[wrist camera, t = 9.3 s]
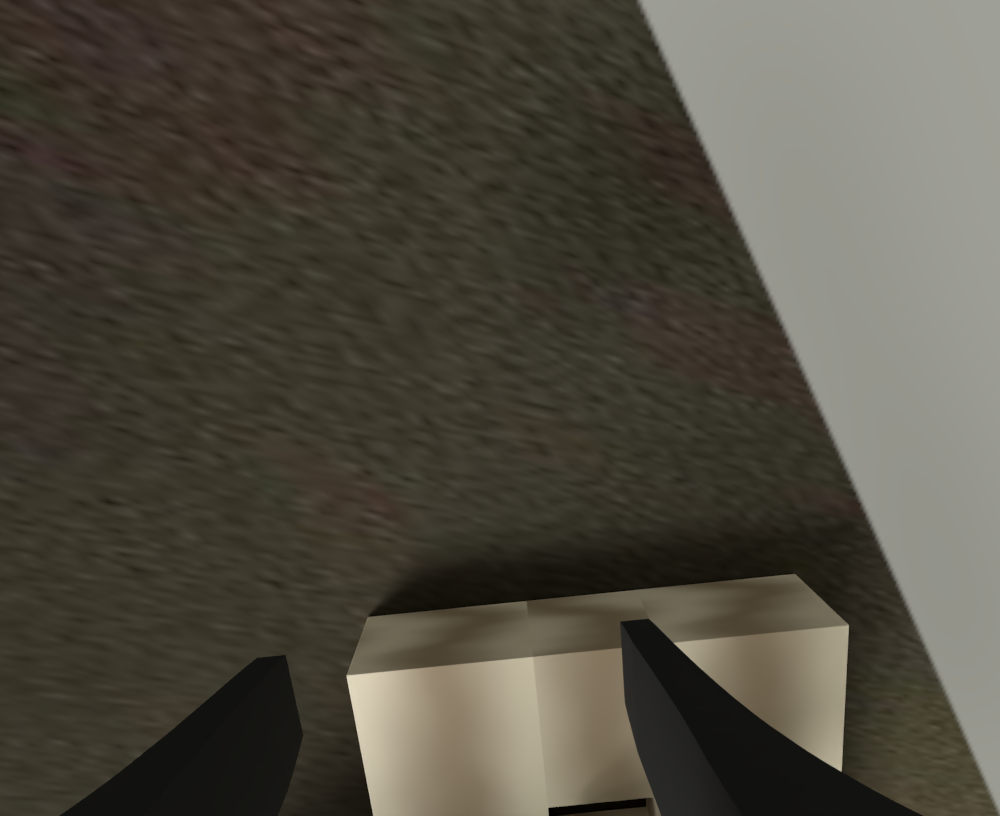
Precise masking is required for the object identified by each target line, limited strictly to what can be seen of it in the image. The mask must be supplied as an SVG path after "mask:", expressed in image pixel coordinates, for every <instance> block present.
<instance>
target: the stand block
mask: <svg viewBox="0 0 1000 816" xmlns="http://www.w3.org/2000/svg"><path fill="white" fill-rule="evenodd" d="M640 619H650V620H651V621H652V622H653V623H654V624H655V625H656V626H657V627H658V628H659V629H660V630H661V631H662V632H663V633H664V634H665V635H666V636H667V637H668V638H669V639H670V640H671V641H672V642H673V643H674V644H675V645H676V646H677V647H678V648H679V649H680V650H682V651H683V652H684V653H685V654H686V655H687V656H688V657H689V658H690V659H691V660H692V661H693V662H694V663H695V664H696V665H697V666H698V667H700V668H701V669H702V670H703V671H704V672H705V673H706V674H707V675H709V676H710V677H711V678H712V679H713V680H714V681H715V682H716V683H717V684H719V685H720V686H721V687H722V688H723V689H724V690H726V691H727V692H728V693H729V694H730V695H732V696H733V697H734V698H735V699H736V700H738V701H739V702H740V703H741V704H743V705H744V706H745V707H746V708H748V709H749V710H750V711H751V712H753V713H754V714H755V715H756V716H758V717H759V718H760V719H762V720H763V721H765V722H766V723H767V724H769V725H770V726H771V727H773V728H774V729H776V730H777V731H779V732H780V733H782V734H783V735H784V736H786V737H787V738H789V739H790V740H792V741H793V742H795V743H796V744H798V745H799V746H800V747H802V748H803V749H805V750H807V751H808V752H810V753H811V754H813V755H814V756H816V757H818V758H819V759H821V760H822V761H824V762H826V763H827V764H829V765H831V766H832V767H834V768H836V769H837V770H839V771H841V772H842V753H843V733H844V713H845V694H846V674H847V654H848V634H849V625H848V624H847V623H846V622H845V621H844V620H843V619H842V618H841V617H840V616H839V615H838V614H837V613H836V612H835V611H834V610H832V609H831V608H830V607H829V606H828V605H827V604H826V603H825V602H824V601H823V600H822V599H821V598H820V597H819V596H818V595H817V594H816V593H815V592H814V591H813V590H811V589H810V588H809V587H808V586H807V585H806V584H805V583H804V582H803V581H802V580H801V579H800V578H799V577H798V576H797V575H796V574H789V575H779V576H769V577H759V578H749V579H739V580H729V581H719V582H709V583H700V584H690V585H680V586H670V587H660V588H650V589H640V590H630V591H620V592H610V593H600V594H590V595H581V596H571V597H561V598H551V599H541V600H531V601H521V602H511V603H501V604H491V605H481V606H471V607H462V608H452V609H442V610H432V611H422V612H412V613H402V614H392V615H382V616H372V617H368V618H367V621H366V623H365V626H364V629H363V632H362V634H361V637H360V640H359V643H358V645H357V648H356V651H355V654H354V656H353V659H352V662H351V665H350V667H349V670H348V673H347V675H346V676H347V681H348V686H349V692H350V697H351V702H352V707H353V712H354V718H355V723H356V728H357V733H358V739H359V744H360V749H361V754H362V760H363V765H364V770H365V775H366V781H367V786H368V791H369V796H370V802H371V807H372V812H373V816H549V812H548V808H551V807H561V806H571V805H581V804H591V803H601V802H611V801H621V800H632V799H642V798H646V807H638V808H628V809H618V810H608V811H598V812H588V813H578V814H567V815H557V816H661V814H660V811H659V808H658V806H657V803H656V800H655V798H654V795H653V792H652V790H651V787H650V784H649V782H648V779H647V776H646V774H645V771H644V768H643V766H642V763H641V760H640V758H639V755H638V752H637V748H636V744H635V741H634V737H633V733H632V729H631V725H630V722H629V718H628V714H627V710H626V706H625V698H624V681H623V663H622V646H621V628H620V621H630V620H640Z"/></svg>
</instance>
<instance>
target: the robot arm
mask: <svg viewBox="0 0 1000 816" xmlns="http://www.w3.org/2000/svg"><path fill="white" fill-rule="evenodd" d="M620 628H621V646H622V663H623V681H624V698H625V706H626V710H627V714H628V718H629V722H630V725H631V729H632V733H633V737H634V741H635V744H636V748H637V752H638V755H639V758H640V760H641V763H642V766H643V768H644V771H645V774H646V776H647V779H648V782H649V784H650V787H651V790H652V792H653V795H654V798H655V800H656V803H657V806H658V808H659V811H660V814H661V816H922V815H920V814H918V813H916V812H914V811H912V810H910V809H908V808H906V807H904V806H902V805H900V804H898V803H896V802H894V801H892V800H891V799H889V798H887V797H885V796H883V795H881V794H880V793H878V792H876V791H874V790H872V789H870V788H868V787H867V786H865V785H863V784H861V783H860V782H858V781H856V780H854V779H853V778H851V777H849V776H848V775H846V774H844V773H843V772H841V771H839V770H837V769H836V768H834V767H832V766H831V765H829V764H827V763H826V762H824V761H822V760H821V759H819V758H818V757H816V756H814V755H813V754H811V753H810V752H808V751H807V750H805V749H803V748H802V747H800V746H799V745H798V744H796V743H795V742H793V741H792V740H790V739H789V738H787V737H786V736H784V735H783V734H782V733H780V732H779V731H777V730H776V729H774V728H773V727H771V726H770V725H769V724H767V723H766V722H765V721H763V720H762V719H760V718H759V717H758V716H756V715H755V714H754V713H753V712H751V711H750V710H749V709H748V708H746V707H745V706H744V705H743V704H741V703H740V702H739V701H738V700H736V699H735V698H734V697H733V696H732V695H730V694H729V693H728V692H727V691H726V690H724V689H723V688H722V687H721V686H720V685H719V684H717V683H716V682H715V681H714V680H713V679H712V678H711V677H710V676H709V675H707V674H706V673H705V672H704V671H703V670H702V669H701V668H700V667H698V666H697V665H696V664H695V663H694V662H693V661H692V660H691V659H690V658H689V657H688V656H687V655H686V654H685V653H684V652H683V651H682V650H680V649H679V648H678V647H677V646H676V645H675V644H674V643H673V642H672V641H671V640H670V639H669V638H668V637H667V636H666V635H665V634H664V633H663V632H662V631H661V630H660V629H659V628H658V627H657V626H656V625H655V624H654V623H653V622H652V621H651V620H650V619H640V620H630V621H620ZM302 737H303V733H302V728H301V724H300V719H299V715H298V710H297V705H296V701H295V696H294V692H293V687H292V682H291V678H290V673H289V669H288V664H287V660H286V655H282V656H272V657H262V658H257V659H255V660H254V661H253V662H252V663H250V664H249V665H248V666H246V667H245V668H244V669H243V670H242V671H240V672H239V673H238V674H237V675H236V676H235V677H233V678H232V679H231V680H230V681H229V682H228V683H226V684H225V685H224V686H223V687H222V688H221V689H219V690H218V691H217V692H216V693H215V694H214V695H213V696H211V697H210V698H209V699H208V700H207V701H206V702H204V703H203V704H202V705H201V706H200V707H199V708H197V709H196V710H195V711H194V712H193V713H192V714H190V715H189V716H188V717H187V718H186V719H185V720H183V721H182V722H181V723H180V724H179V725H178V726H176V727H175V728H174V729H173V730H172V731H171V732H169V733H168V734H167V735H166V736H164V737H163V738H162V739H161V740H159V741H158V742H157V743H156V744H154V745H153V746H152V747H151V748H149V749H148V750H147V751H146V752H144V753H143V754H142V755H141V756H139V757H138V758H137V759H136V760H134V761H133V762H132V763H131V764H129V765H128V766H127V767H126V768H125V769H123V770H122V771H121V772H119V773H118V774H117V775H116V776H114V777H113V778H112V779H110V780H109V781H108V782H106V783H105V784H104V785H102V786H101V787H99V788H98V789H97V790H95V791H94V792H93V793H91V794H90V795H89V796H87V797H86V798H84V799H83V800H81V801H80V802H79V803H77V804H76V805H74V806H73V807H71V808H70V809H69V810H67V811H66V812H64V813H63V814H62V815H60V816H278V813H279V811H280V808H281V806H282V803H283V801H284V798H285V795H286V793H287V790H288V788H289V784H290V781H291V778H292V774H293V771H294V767H295V764H296V760H297V756H298V752H299V749H300V745H301V741H302Z"/></svg>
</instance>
